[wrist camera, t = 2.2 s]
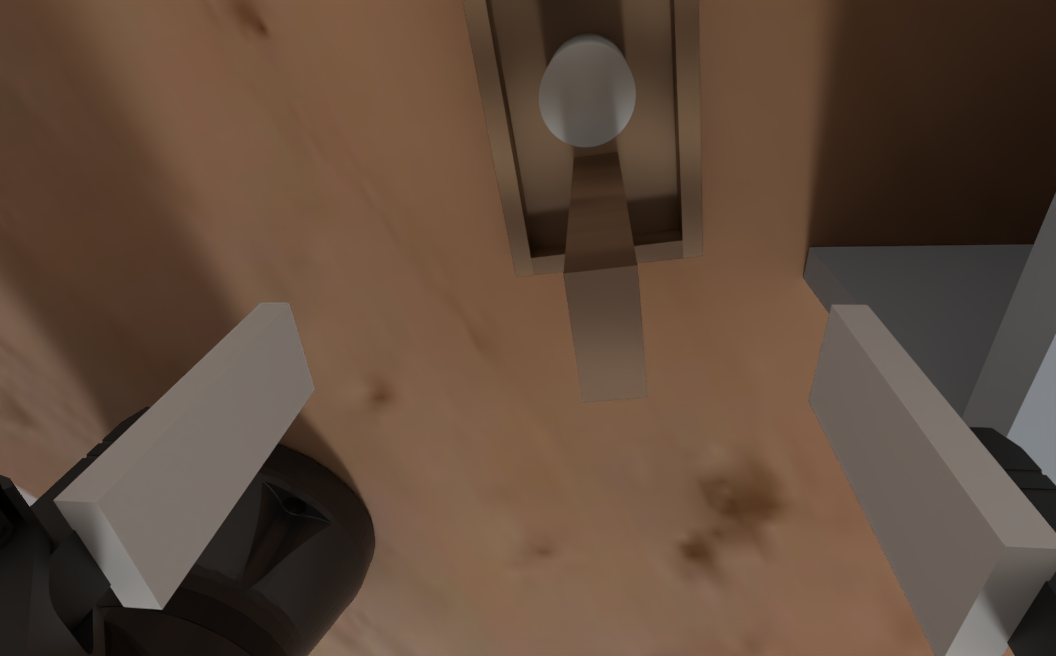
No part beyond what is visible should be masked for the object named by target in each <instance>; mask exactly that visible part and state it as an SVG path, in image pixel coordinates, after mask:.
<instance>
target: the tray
mask: <svg viewBox="0 0 1056 656" xmlns="http://www.w3.org/2000/svg"><path fill="white" fill-rule="evenodd" d="M463 6H464V11H465V16H466V21H467V26H468V31H469V37H470V42H471V47H472V52H473V57H474V63H475V68H476V73H477V78H478V83H479V88H480V94H481V99H482V104H483V109H484V114H485V119H486V125H487V130H488V135H489V140H490V145H491V151H492V156H493V161H494V166H495V171H496V176H497V182H498V187H499V192H500V197H501V202H502V207H503V213H504V218H505V223H506V228H507V233H508V239H509V244H510V249H511V254H512V259H513V264H514V270H515V275H516V277H520V276H529V275H538V274H547V273H556V272H564V273H563V274H564V281H565V288H566V294H567V301H568V308H569V315H570V321H571V328H572V335H573V342H574V348H575V355H576V362H577V369H578V375H579V382H580V389H581V396H582V402H596V401H609V400H623V399H636V398H648V394H647V381H646V368H645V356H644V343H643V330H642V318H641V305H640V292H639V279H638V267H637V263H645V262H653V261H662V260H671V259H680V258H689V257H698V256H703V230H702V173H701V116H700V59H699V2H698V0H463Z"/></svg>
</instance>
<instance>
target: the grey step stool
mask: <svg viewBox="0 0 1056 656" xmlns="http://www.w3.org/2000/svg"><path fill="white" fill-rule="evenodd" d="M803 278H804V280H805V281H806V283H807V284H808V285H809V287H810V288H811V289H812V291H813V292H814V294H815V295H816V296H817V298H818V299H819V300H820V302H821V303H822V305H823V306H824V307H825V309H826V310H827V311H828V313H829V314H830V310H831V305H868V306H869V307H870V309H871V310H872V311H873V312H874V313H875V315H876V316H877V317H878V318H879V320H880V321H881V322H882V323H883V324H884V326H885V327H886V328H887V329H888V330H889V332H890V333H891V334H892V335H893V336H894V338H895V339H896V340H897V341H898V343H899V344H900V345H901V346H902V347H903V349H904V350H905V351H906V352H907V353H908V355H909V356H910V357H911V358H912V359H913V361H914V362H915V363H916V364H917V365H918V367H919V368H920V369H921V370H922V372H923V373H924V374H925V375H926V376H927V378H928V379H929V380H930V381H931V382H932V384H933V385H934V386H935V387H936V388H937V390H938V391H939V392H940V393H941V395H942V396H943V397H944V398H945V399H946V401H947V402H948V403H949V404H950V405H951V407H952V408H953V409H954V410H955V411H956V413H957V414H958V415H959V416H960V417H961V419H962V420H963V421H964V422H965V424H966V425H967V426H968V427H985V428H993V429H994V430H996V431H997V432H999V433H1000V434H1002V435H1003V436H1005V437H1006V438H1008V439H1009V440H1011V441H1012V442H1014V443H1015V444H1017V445H1019V446H1020V447H1022V449H1023V450H1024V451H1025V452H1026V453H1027V454H1028V455H1029V456H1030V457H1031V458H1032V460H1033V461H1034V462H1035V463H1036V464H1037V465H1038V466H1039V467H1040V468H1041V470H1042V474H1043V475H1047V476H1048V477H1049V478H1050V479H1051V481H1052V482H1053V483H1054V484H1055V485H1056V193H1055V195H1054V197H1053V200H1052V202H1051V205H1050V207H1049V209H1048V212H1047V214H1046V217H1045V219H1044V221H1043V224H1042V226H1041V229H1040V231H1039V233H1038V236H1037V238H1036V241H1035V243H1034V244H1024V245H944V246H864V247H810V248H809V253H808V257H807V262H806V267H805V272H804V277H803Z"/></svg>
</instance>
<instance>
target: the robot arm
mask: <svg viewBox="0 0 1056 656" xmlns="http://www.w3.org/2000/svg"><path fill="white" fill-rule="evenodd" d="M314 390H315V388H314V384H313V381H312V378H311V374H310V371H309V368H308V364H307V361H306V357H305V354H304V351H303V347H302V344H301V341H300V337H299V334H298V331H297V327H296V324H295V320H294V317H293V314H292V310H291V307H290V304H289V303H273V302H261V303H260V304H259V305H258V306H257V307H256V308H255V309H254V310H253V311H251V312H250V313H249V314H248V315H247V316H246V317H245V318H244V319H243V320H242V321H241V322H240V323H239V324H238V325H237V326H236V327H235V328H234V329H233V330H232V331H230V332H229V333H228V334H227V335H226V336H225V337H224V338H223V339H222V340H221V341H220V342H219V343H218V344H217V345H216V346H215V347H214V348H213V349H212V350H211V351H209V352H208V353H207V354H206V355H205V356H204V357H203V358H202V359H201V360H200V361H199V362H198V363H197V364H196V365H195V366H194V367H193V368H192V369H191V370H190V371H188V372H187V373H186V374H185V375H184V376H183V377H182V378H181V379H180V380H179V381H178V382H177V383H176V384H175V385H174V386H173V387H172V388H171V389H170V390H169V391H168V392H166V393H165V394H164V395H163V396H162V397H161V398H160V399H159V400H158V401H157V402H156V403H155V404H154V405H153V406H152V407H146V408H144V409H143V410H141V411H139V412H138V413H136V414H134V415H133V416H131V417H129V418H128V419H126V420H124V421H123V422H121V423H120V424H119V425H118V426H117V427H116V428H115V429H114V430H113V431H111V432H110V433H109V434H108V435H107V436H106V437H105V438H104V439H103V442H102V443H98V444H97V445H96V446H95V447H94V448H93V449H92V450H91V451H90V452H89V453H88V454H87V457H86V458H82V459H81V460H80V461H79V462H78V463H77V464H76V465H75V466H74V467H73V468H71V469H70V470H69V471H68V472H67V473H66V474H65V475H64V476H63V477H62V478H61V479H60V480H58V481H57V482H56V483H55V484H54V485H53V486H52V487H51V488H50V489H49V490H48V491H47V492H46V493H44V494H43V495H42V496H41V497H40V498H39V499H38V500H37V501H36V502H35V503H34V504H33V505H31V506H30V507H29V505H28V504H27V503H26V501H25V500H24V498H23V497H22V495H20V492H19V491H18V490H17V488H16V487H15V485H14V484H13V482H12V481H11V480H10V478H7V477H5V476H2V475H0V656H308V655H309V653H310V652H311V651H312V650H313V649H314V647H315V646H316V645H317V644H318V643H319V641H320V640H321V639H322V638H323V636H324V635H325V634H326V633H327V631H328V630H329V629H330V628H331V626H332V625H333V624H334V623H335V621H336V620H337V619H338V618H339V616H340V615H341V614H342V612H343V611H344V610H345V608H346V607H347V606H348V605H349V604H350V603H351V602H352V601H353V599H354V598H355V597H356V595H357V594H358V592H359V590H360V588H361V586H362V584H363V581H364V579H365V576H366V574H367V571H368V568H369V566H370V563H371V561H372V558H373V554H374V549H375V536H374V531H373V527H372V524H371V521H370V519H369V516H368V514H367V512H366V511H365V509H364V507H363V506H362V504H361V503H360V501H359V500H358V499H357V497H356V496H355V495H354V494H353V493H352V491H351V490H350V489H349V488H348V487H347V486H346V485H345V484H344V483H343V482H341V481H340V480H339V479H338V478H337V477H336V476H334V475H333V474H332V473H331V472H329V471H328V470H326V469H325V468H324V467H322V466H320V465H319V464H317V463H316V462H314V461H312V460H310V459H309V458H307V457H305V456H303V455H301V454H299V453H296V452H294V451H292V450H290V449H287V448H284V447H282V446H279V445H277V444H278V442H279V441H280V439H281V438H282V436H283V435H284V434H285V432H286V431H287V429H288V428H289V426H290V425H291V424H292V422H293V421H294V419H295V418H296V416H297V415H298V413H299V412H300V411H301V409H302V408H303V406H304V405H305V403H306V402H307V400H308V399H309V398H310V396H311V395H312V393H313V392H314ZM808 401H809V403H810V405H811V407H812V409H813V411H814V413H815V415H816V417H817V419H818V421H819V423H820V425H821V427H822V429H823V431H824V433H825V435H826V437H827V439H828V441H829V443H830V445H831V447H832V449H833V451H834V453H835V455H836V457H837V459H838V461H839V463H840V465H841V467H842V469H843V471H844V473H845V475H846V477H847V479H848V481H849V483H850V485H851V487H852V489H853V491H854V493H855V495H856V497H857V499H858V501H859V503H860V505H861V507H862V509H863V511H864V513H865V515H866V517H867V519H868V521H869V523H870V525H871V527H872V529H873V531H874V533H875V535H876V537H877V539H878V541H879V543H880V545H881V547H882V549H883V551H884V553H885V555H886V557H887V559H888V561H889V563H890V565H891V568H892V570H893V572H894V574H895V576H896V578H897V580H898V582H899V584H900V586H901V588H902V590H903V592H904V594H905V596H906V598H907V600H908V602H909V604H910V606H911V608H912V610H913V612H914V614H915V616H916V618H917V620H918V622H919V624H920V626H921V628H922V630H923V632H924V634H925V636H926V638H927V640H928V642H929V644H930V646H931V648H932V650H933V652H934V654H935V656H1002V655H1003V653H1004V652H1005V650H1006V649H1007V647H1008V646H1009V647H1010V648H1011V650H1012V652H1013V653H1014V655H1015V656H1056V485H1055V484H1054V483H1053V482H1052V481H1051V479H1050V478H1049V477H1048V476H1047V475H1043V474H1042V470H1041V468H1040V467H1039V466H1038V465H1037V464H1036V463H1035V462H1034V461H1033V460H1032V458H1031V457H1030V456H1029V455H1028V454H1027V453H1026V452H1025V451H1024V450H1023V449H1022V447H1020V446H1019V445H1017V444H1015V443H1014V442H1012V441H1011V440H1009V439H1008V438H1006V437H1005V436H1003V435H1002V434H1000V433H999V432H997V431H996V430H994V429H993V428H985V427H968V426H967V425H966V424H965V422H964V421H963V420H962V419H961V417H960V416H959V415H958V414H957V413H956V411H955V410H954V409H953V408H952V407H951V405H950V404H949V403H948V402H947V401H946V399H945V398H944V397H943V396H942V395H941V393H940V392H939V391H938V390H937V388H936V387H935V386H934V385H933V384H932V382H931V381H930V380H929V379H928V378H927V376H926V375H925V374H924V373H923V372H922V370H921V369H920V368H919V367H918V365H917V364H916V363H915V362H914V361H913V359H912V358H911V357H910V356H909V355H908V353H907V352H906V351H905V350H904V349H903V347H902V346H901V345H900V344H899V343H898V341H897V340H896V339H895V338H894V336H893V335H892V334H891V333H890V332H889V330H888V329H887V328H886V327H885V326H884V324H883V323H882V322H881V321H880V320H879V318H878V317H877V316H876V315H875V313H874V312H873V311H872V310H871V309H870V307H869V306H868V305H831V310H830V314H829V318H828V322H827V326H826V330H825V334H824V338H823V342H822V346H821V351H820V355H819V359H818V363H817V367H816V371H815V375H814V379H813V383H812V387H811V392H810V396H809V400H808Z"/></svg>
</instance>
